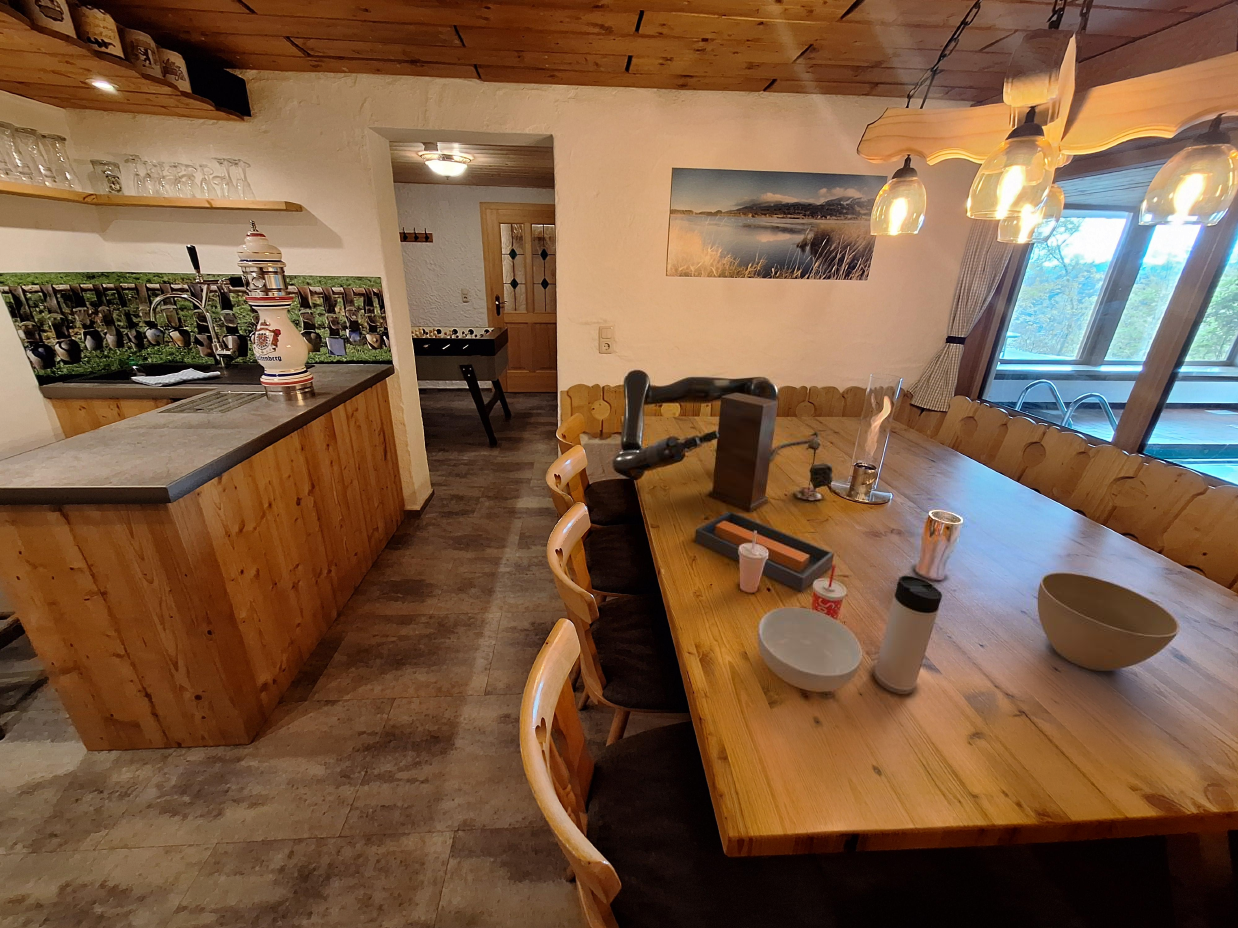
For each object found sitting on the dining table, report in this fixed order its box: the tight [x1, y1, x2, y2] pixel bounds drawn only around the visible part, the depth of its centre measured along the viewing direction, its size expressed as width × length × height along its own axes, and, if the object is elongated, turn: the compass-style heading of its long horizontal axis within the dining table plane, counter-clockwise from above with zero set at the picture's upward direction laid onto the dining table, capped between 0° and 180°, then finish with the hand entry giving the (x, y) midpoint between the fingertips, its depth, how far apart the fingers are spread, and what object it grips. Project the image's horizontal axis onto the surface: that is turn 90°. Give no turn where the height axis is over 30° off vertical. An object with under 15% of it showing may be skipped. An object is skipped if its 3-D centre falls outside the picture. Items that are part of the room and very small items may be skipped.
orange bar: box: [715, 521, 810, 572], centre depth 123 cm, size 4×24×3 cm, turn 45°
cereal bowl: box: [756, 606, 863, 693], centre depth 86 cm, size 17×17×7 cm
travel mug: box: [873, 575, 943, 695], centre depth 81 cm, size 6×7×20 cm
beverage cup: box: [810, 564, 848, 621], centre depth 95 cm, size 6×6×14 cm
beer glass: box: [914, 509, 964, 581], centre depth 113 cm, size 7×7×15 cm
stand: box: [708, 393, 779, 513], centre depth 147 cm, size 10×15×32 cm, turn 44°
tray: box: [694, 510, 835, 593], centre depth 122 cm, size 16×30×4 cm, turn 44°
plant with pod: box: [794, 437, 834, 501], centre depth 151 cm, size 8×11×20 cm
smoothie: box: [738, 531, 768, 593], centre depth 107 cm, size 6×6×14 cm
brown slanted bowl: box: [1037, 572, 1181, 672], centre depth 89 cm, size 18×18×12 cm
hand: (707, 437), depth 127 cm, fingers open, 8 cm apart
